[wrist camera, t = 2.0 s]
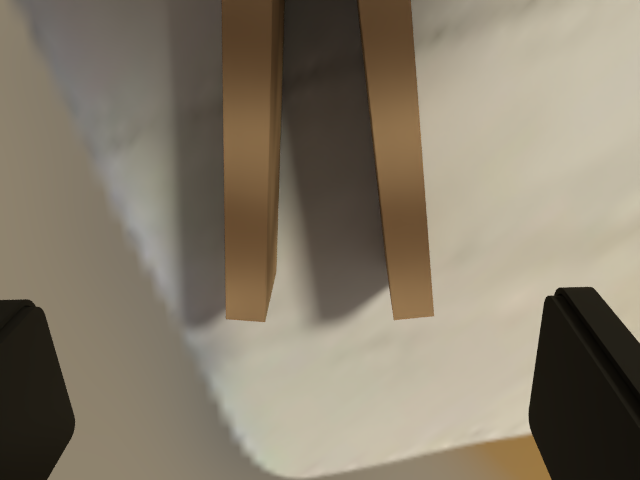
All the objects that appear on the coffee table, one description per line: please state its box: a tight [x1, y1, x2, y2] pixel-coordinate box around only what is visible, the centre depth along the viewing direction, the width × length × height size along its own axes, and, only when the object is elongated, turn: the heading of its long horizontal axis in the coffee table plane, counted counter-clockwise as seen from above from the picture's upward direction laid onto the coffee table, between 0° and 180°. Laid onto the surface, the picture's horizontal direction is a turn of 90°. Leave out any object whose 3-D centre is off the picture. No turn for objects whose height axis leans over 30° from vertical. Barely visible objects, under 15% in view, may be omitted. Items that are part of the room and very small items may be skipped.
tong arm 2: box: [357, 0, 434, 320], centre depth 19 cm, size 20×2×4 cm, turn 8°
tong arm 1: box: [222, 0, 285, 322], centre depth 19 cm, size 20×2×4 cm, turn 176°
